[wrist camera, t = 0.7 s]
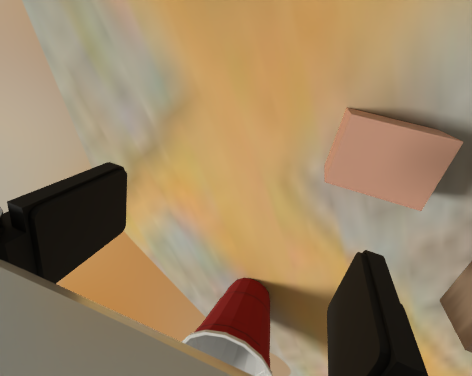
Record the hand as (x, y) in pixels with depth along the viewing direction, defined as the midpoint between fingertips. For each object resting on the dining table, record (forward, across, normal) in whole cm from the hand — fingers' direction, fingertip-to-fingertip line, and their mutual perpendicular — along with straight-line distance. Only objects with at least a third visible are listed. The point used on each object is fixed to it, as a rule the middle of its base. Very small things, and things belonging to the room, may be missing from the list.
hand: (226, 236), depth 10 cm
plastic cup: (+20, -1, +23) cm, 30 cm away
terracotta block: (+20, -9, -1) cm, 21 cm away
